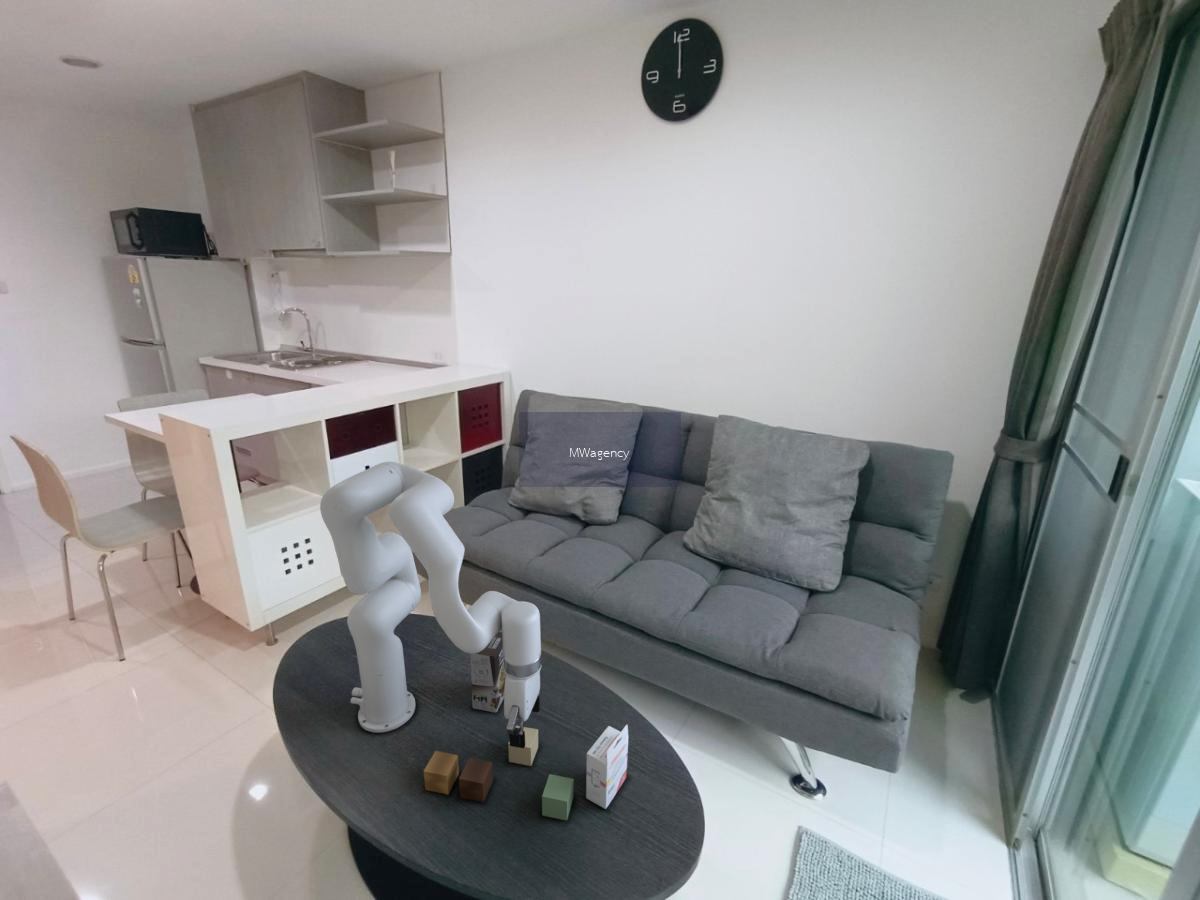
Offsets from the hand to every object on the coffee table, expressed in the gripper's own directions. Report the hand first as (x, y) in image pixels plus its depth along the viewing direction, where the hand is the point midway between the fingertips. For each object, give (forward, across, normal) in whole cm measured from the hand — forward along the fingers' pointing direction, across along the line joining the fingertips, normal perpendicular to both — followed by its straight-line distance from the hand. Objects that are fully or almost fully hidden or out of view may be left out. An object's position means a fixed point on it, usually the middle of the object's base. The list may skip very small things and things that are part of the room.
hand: (525, 727), depth 117 cm
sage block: (+8, +10, +10) cm, 16 cm away
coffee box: (+7, -14, -14) cm, 21 cm away
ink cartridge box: (+8, +4, +18) cm, 20 cm away
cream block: (+8, 0, -1) cm, 8 cm away
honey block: (+7, +10, -15) cm, 19 cm away
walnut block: (+7, +10, -7) cm, 14 cm away
